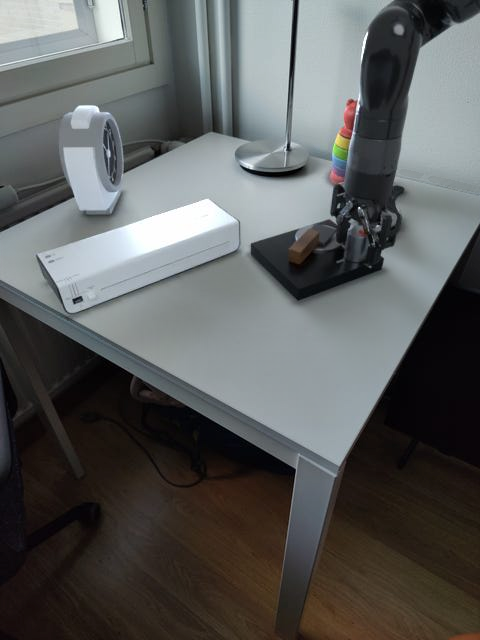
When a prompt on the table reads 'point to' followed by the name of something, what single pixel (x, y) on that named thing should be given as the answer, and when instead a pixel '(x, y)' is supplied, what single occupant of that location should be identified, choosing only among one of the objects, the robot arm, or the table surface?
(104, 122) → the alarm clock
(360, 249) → the hob knob
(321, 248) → the burner
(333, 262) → the hob
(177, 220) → the laminator
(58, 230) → the table surface
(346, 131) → the stacking bear
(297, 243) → the spatula
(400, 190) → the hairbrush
